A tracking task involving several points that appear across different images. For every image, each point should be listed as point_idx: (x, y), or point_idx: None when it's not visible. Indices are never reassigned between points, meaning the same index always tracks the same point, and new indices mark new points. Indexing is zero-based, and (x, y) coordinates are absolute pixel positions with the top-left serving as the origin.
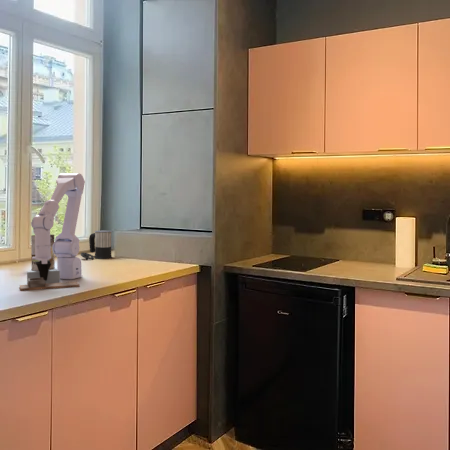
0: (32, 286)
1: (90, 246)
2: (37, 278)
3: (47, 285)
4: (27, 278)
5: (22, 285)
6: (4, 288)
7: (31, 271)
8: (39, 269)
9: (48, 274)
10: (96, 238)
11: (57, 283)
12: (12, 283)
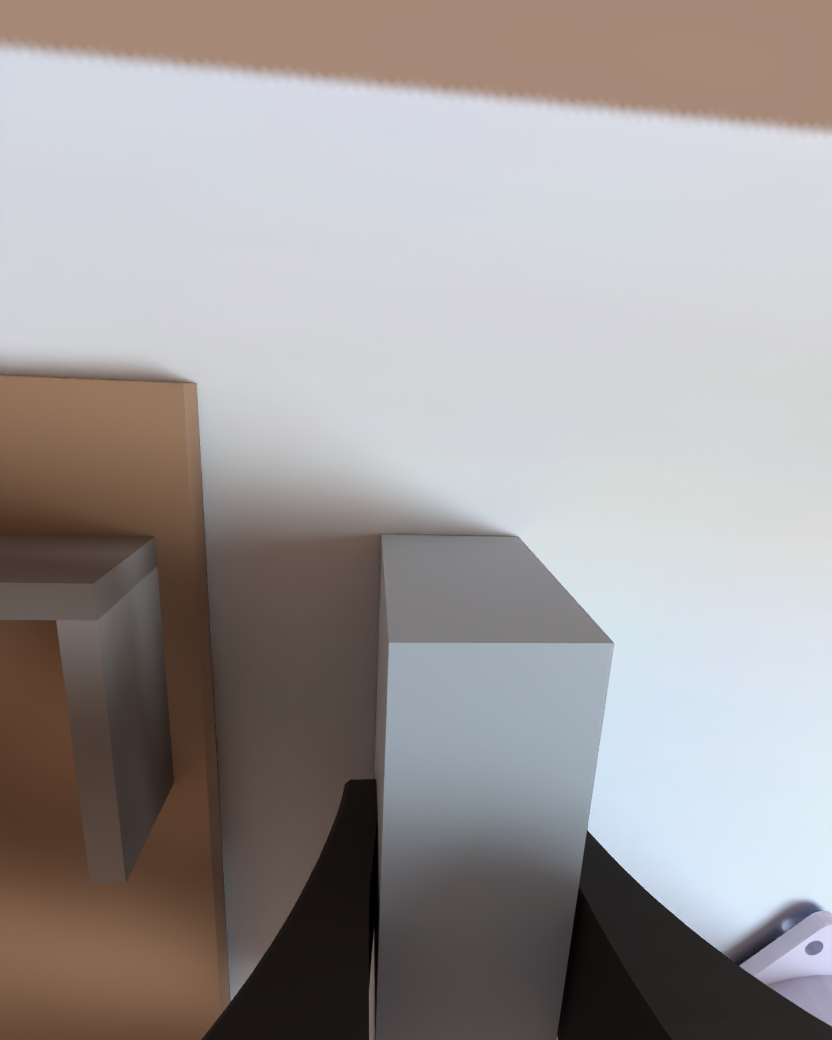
0: None
1: None
2: (81, 772)
3: None
4: (386, 577)
5: (119, 434)
6: (166, 64)
7: (507, 748)
8: (245, 996)
9: (374, 989)
10: None
11: (142, 961)
12: (701, 287)
